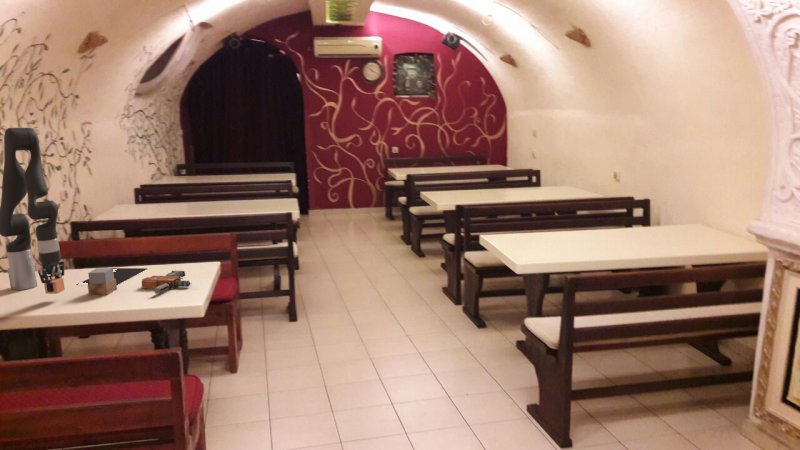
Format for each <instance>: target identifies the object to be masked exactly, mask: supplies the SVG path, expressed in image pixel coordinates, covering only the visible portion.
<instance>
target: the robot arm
mask: <svg viewBox="0 0 800 450" xmlns="http://www.w3.org/2000/svg"><path fill="white" fill-rule="evenodd" d="M3 135H4V137H3V142H4V143H3V145H4V146H3V151H4V152H3V153H4V157H3V158H4V160H3V161H4V162H3V163H4V165H3V171H2V172H3V174H2V183H1V201H0V235H1V237H4V238H6V237H7V238H8V237H13V236H14V237H15V236H16V238H15V239H14V240H12V241H11V242H9V243H8V244H6V246H5V249H6V255H7V260H8V266H9V267H8V268H7V273H8V280H9V284H10V285H9V286H10V290H15V291H23V290H29V289H32V288H33V289H34V288H35V287H37V286H38V281H37V275H36V274H38V276H39V279H40V281H41V284H44V283H46V286H47V291H48V292H53V291H54V289H53V283H52V279H53V278H63V277H64V276H65V261H61V260H62V256H61V255H62V254H61V250H60V243H59V240H58V234H57V219H58V214H59V206H58V204H57V203H56V202H55V201H54V200H44V201H37V200H39V199H41V198H44V197H46V196H48V193H49V191H48V187H47V183H46V180H45V176H44V172H43V166H42V165H43V164H42V156H41V149H40V141H39V136H38V133H37V132H36V130H35V129H34V128H33V127H7V129H5V132H4V134H3ZM19 151H29V153H30V159H29V162H28V165H27V168H26V169H24V168H23V165H21V164H20V162H19V161H18V159H17V155H16V153H17V152H19ZM26 195H27V199H28V200H27V215H28V217H29V218H30V219H31V220H33V221H39V220H45V219H47V221H46V222H43V224H39V225H37V226H35V227H36V228H35V233H36V240H37V243H36V245H37V251H38V257H39V262H40V263H41V264H42V269H38V270H37V273H36V270H35V263H34V257H33V252H32V245H31V244H32V239H31V230H30V222H29V218H28V217H27V215H26V214H25V213H21V212H20V213H19V212H18V213H14V212H15V209H16V208H17V206H19V204H20V203H21V202H22V201H23V199H24V198H25V197H26Z"/></svg>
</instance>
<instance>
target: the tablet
mask: <svg viewBox="0 0 800 450" xmlns="http://www.w3.org/2000/svg"><path fill="white" fill-rule="evenodd" d="M112 268H113V269H117V270H115V271H116V272H113V273H114V279H116V284H117V286H119V285H121V284H122V282H123V283H124V281H125V282H126V281H128V280H131V279H132V278H134V277H136V276H138V275H139V273H140V274H141V272H142V273H144V272H145V270H146V271H147V270H148V268H146V267H143V268H141V267H131V268H129V267H126V268H125V267H124V268H123V267H122V268H121V267H120V268H119V267H112ZM143 271H144V272H143ZM137 274H138V275H137ZM82 282H83V283H85V282H86V283H88V284H90V281H89V278H87V279H85V280H83V281H82ZM78 284H79V283H77V284H76V285H78ZM118 284H119V285H118Z"/></svg>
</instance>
